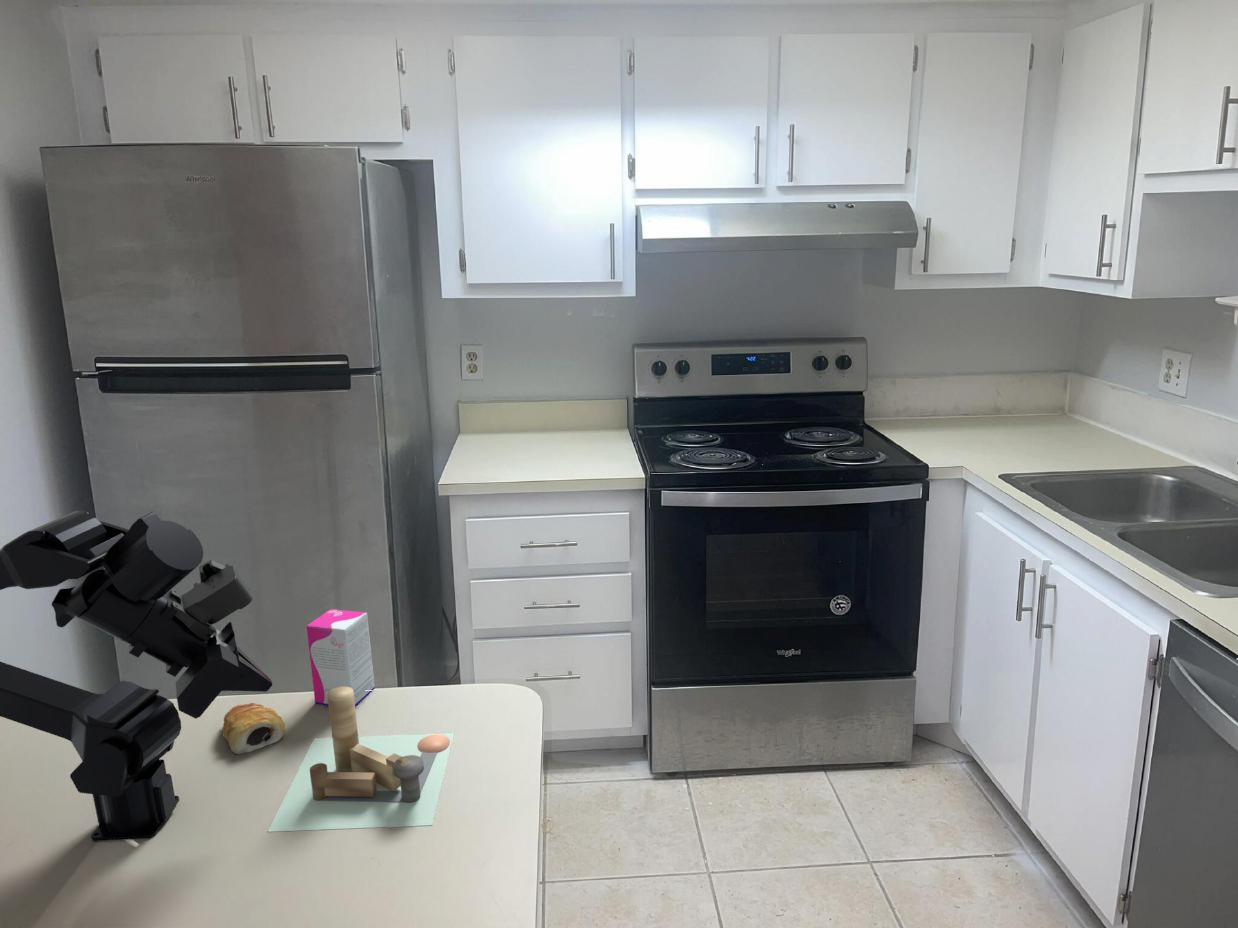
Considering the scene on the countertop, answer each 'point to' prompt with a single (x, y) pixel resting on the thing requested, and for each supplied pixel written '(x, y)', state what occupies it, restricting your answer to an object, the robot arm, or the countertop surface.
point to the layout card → (366, 811)
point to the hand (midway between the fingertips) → (269, 686)
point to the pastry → (252, 727)
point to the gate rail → (358, 756)
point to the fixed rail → (355, 784)
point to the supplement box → (340, 654)
